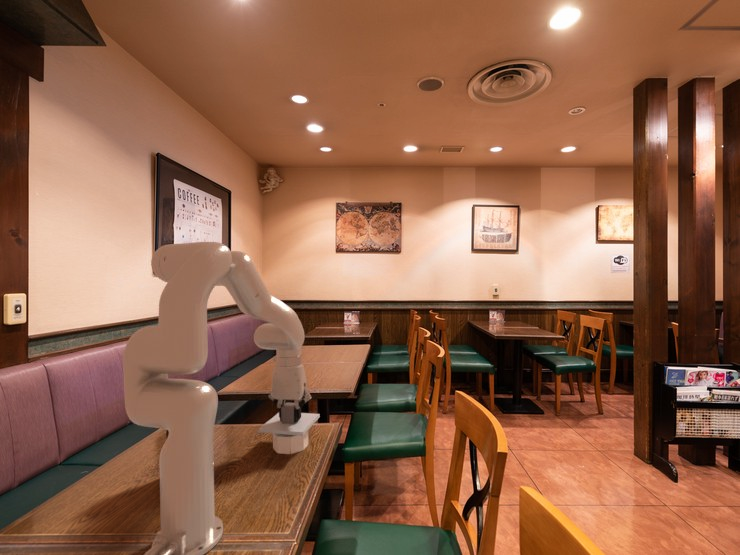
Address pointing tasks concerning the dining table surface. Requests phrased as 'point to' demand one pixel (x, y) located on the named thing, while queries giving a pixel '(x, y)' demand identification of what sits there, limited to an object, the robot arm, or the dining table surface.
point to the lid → (289, 422)
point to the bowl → (289, 443)
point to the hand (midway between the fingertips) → (290, 419)
